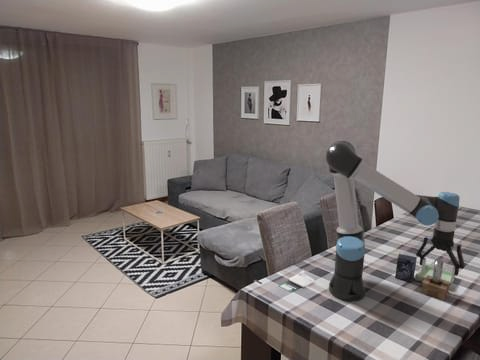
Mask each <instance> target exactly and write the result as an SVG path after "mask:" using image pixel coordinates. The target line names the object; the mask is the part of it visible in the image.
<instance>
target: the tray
mask: <svg viewBox="0 0 480 360" xmlns="http://www.w3.org/2000/svg"><path fill="white" fill-rule="evenodd" d="M420 267H421V268H419V270H417V272H416V273H415V274H414V281H418V282H421V283H422V282H423V281H424V279H425V278H426V277H427V275H429V276H433V271H434V266H433V265H430V264H426V263H425V270H424V273H423V274H422V273H421V269H422V266H420ZM451 277H452V271H450V270H449V269H448V270H447V269H444V268H443V269H442V276H441V279H443V280H446V281H449V282H450V286H449V288H450V287H451V285H452V283H451ZM455 278H456V276H455V277H454V279H455Z"/></svg>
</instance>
